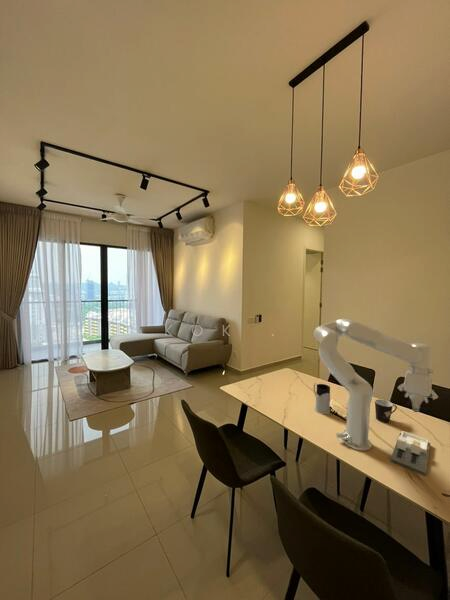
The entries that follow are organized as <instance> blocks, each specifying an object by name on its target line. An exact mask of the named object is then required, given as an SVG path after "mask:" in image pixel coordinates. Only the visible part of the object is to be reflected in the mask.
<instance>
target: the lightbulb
mask: <svg viewBox="0 0 450 600" xmlns="http://www.w3.org/2000/svg"><path fill="white" fill-rule="evenodd" d="M409 398H410V399H409V401H410V402H411V407H412V411H413V412H414V413H419V412H420V409H421V406H422V404H423V403H424V397H423V396H422V395H420V394H418V393H410V394H409Z"/></svg>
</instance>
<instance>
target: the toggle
mask: <svg viewBox="0 0 450 600" xmlns="http://www.w3.org/2000/svg"><path fill="white" fill-rule="evenodd" d="M398 437H399V438H397V440H398V444H397V448H399V449H402V450H404V451H405V450H406V446H407V438H404V437H402V436H399V435H398Z"/></svg>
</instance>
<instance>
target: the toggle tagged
mask: <svg viewBox="0 0 450 600" xmlns="http://www.w3.org/2000/svg"><path fill="white" fill-rule="evenodd" d="M420 447H421V442H419V441H416V440H412V444H411V452H412V453H415V454H418V455H419V454H420Z"/></svg>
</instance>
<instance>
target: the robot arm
mask: <svg viewBox="0 0 450 600" xmlns="http://www.w3.org/2000/svg"><path fill="white" fill-rule="evenodd" d="M341 336H342V337H346V338H348V339H350V340H352V341H355V342H356V343H360V344H362V345H364V346H367V347H369V348H371V349H374V350H376V351H380V352H381V353H385V354H387V355H390V356H392V357H394V358H397V359H398V360H401V361H404V362H406V363H408V369H407V370H406V371H405V377H404V382H403V383H401V384H399V385H398V386H397V389H398V390H399V391H400V392H401V393H402V395H404V398H405V399H404V403H405V404H406V405H405V406H406V407H409V406H410V398H409V394H410V393H418V394H420V395H422V396H423V397H424V401H423V402H422V405H423V406H422V411H424V412H425V411H426V410H428V404H429V403H430V402H432V401H434V400H436V399H439V396H438V394H437V393H436V392H435V391H434V389H432V388H433V387H432V374H433V373H434V370H433V369H431V368H430V362H431V361H430V360H431V350H432V349H431V346H430V345H429V344H426V343H421V342H420V343H419V342H412V343H411V342H404V341H402V340H399V339H398V338H394V337H392V336H390V335H388V334H387V333H384V332H383V331H379V330H377V329H375V328H373V327H370V326H367V325H365V324H362V323H360V322H358V321H355V320H352V319H349V318H346V317H345V318H340V319H339V318H338V319H336V320H333V321H330V322H327V323H324V324H322V325H321V324H320V325H318V326H317V327H316V328H315V329H314V331H313V337H314V339H315V341H317V342H318V343H319V344H318V348H317V349H318V356H319V359H320V360H321V361H322V363H323V364H324V365H325V367H327V369H328V372H329V373H330V374H331V375H332V377H334V379H335V380H337V381H338V383H339V384H340V385H341V386H342V387H343V388H344V389H345V390H346V391H347V392H348V393H349V397H348V400H347V403H346V404H347V405H346V406H347V407H346V424H345V425H346V426H345V429H344V430H343V432H341V433H340V432H338V433H337V432H336V433H335V437H336V438H337V439H341V441H343V443H344V444H345V445H346V446H348V447H350V448H351V449H354V450H356V451H365V452H366V451H370V450H371V449H372V446H373V444H372V442H371V440H370V439H369V430H370V413H371V412H370V411H371V403H372V399H373V396H374V390H373V387H372V385H371V384H370V383H369V382H368V381H367V380H366V379H365V378H363V377H361V376H360V375H359V374H358V373H357V372H356V371H355V369H354V367H353V366H352V365H351V364H350V363H349V362H348V361H347V360H346V359H345V358H344V357H343V356H342V354H341V353H340V352H339V351H338V345H339V337H341Z"/></svg>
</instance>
